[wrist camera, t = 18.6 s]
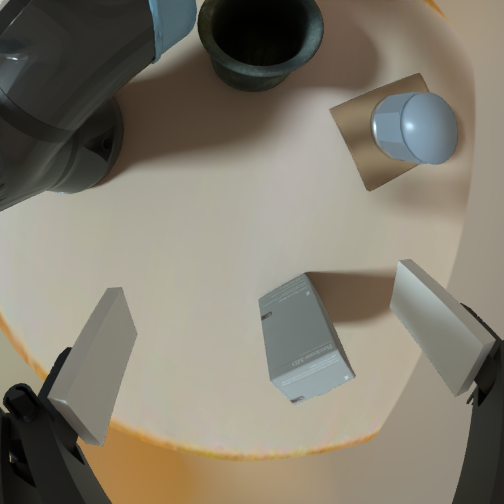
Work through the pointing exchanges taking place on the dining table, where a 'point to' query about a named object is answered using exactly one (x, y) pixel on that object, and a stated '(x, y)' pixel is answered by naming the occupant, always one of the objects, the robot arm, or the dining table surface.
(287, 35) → the mug
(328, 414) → the dining table surface
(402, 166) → the base board
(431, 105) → the cap
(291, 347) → the skincare box
